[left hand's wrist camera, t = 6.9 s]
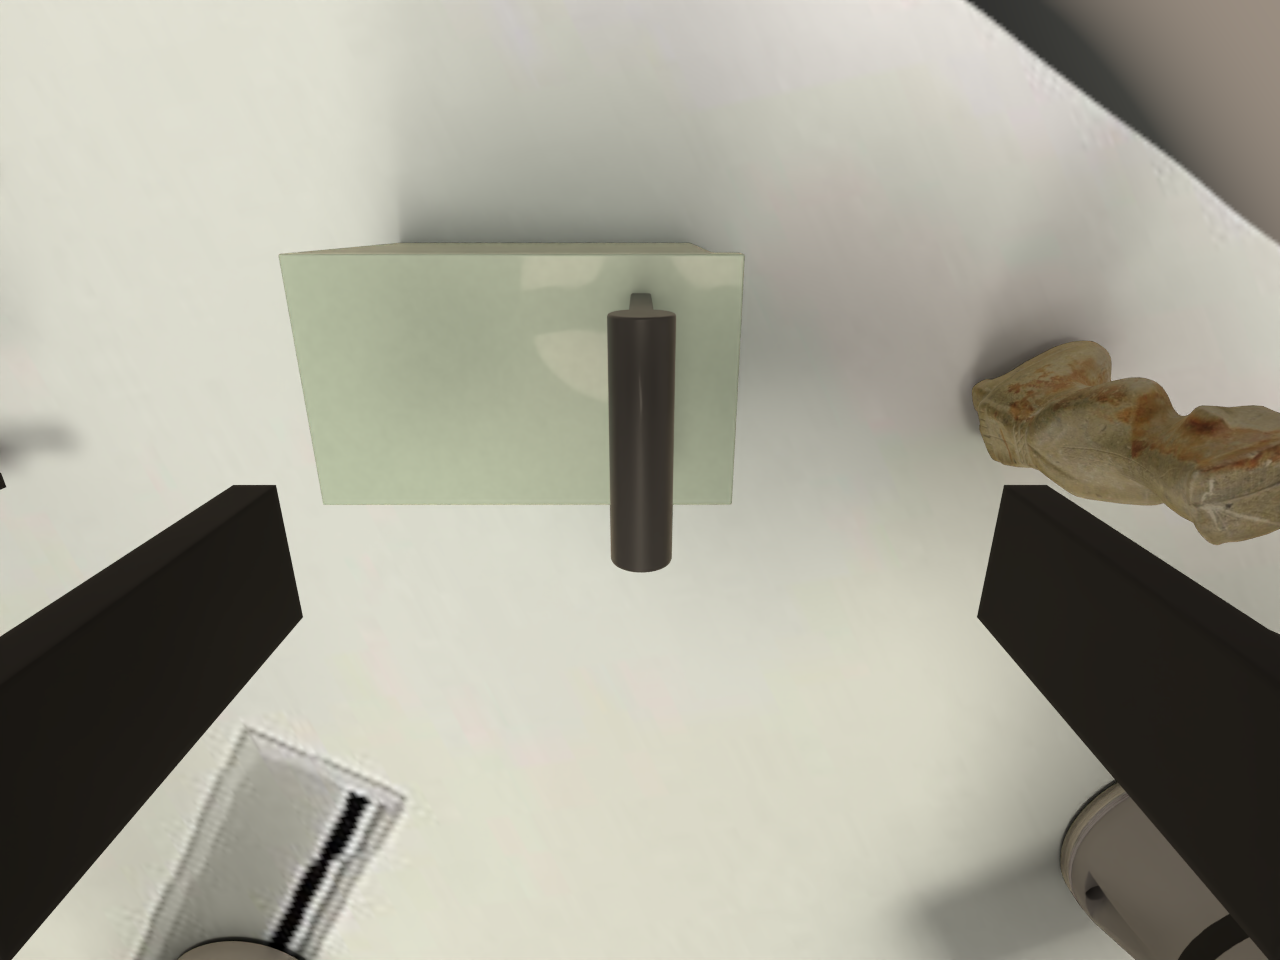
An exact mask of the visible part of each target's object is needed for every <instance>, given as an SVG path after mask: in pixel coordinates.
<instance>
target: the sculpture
mask: <svg viewBox="0 0 1280 960" xmlns="http://www.w3.org/2000/svg"><path fill="white" fill-rule="evenodd" d="M972 398H973V404H974V408H975V410H976V411H977V412H978V416H979V421H980V426H979V430H980V432H981V435H982V438H983V440H984V443H985V445H986V448H987V450H988V452H989V454H990V456H991V458H992V459H993V460H995V461H998V462H1001V463H1002V464H1004V465H1009V466H1015V467H1025V468H1034V469H1037V470H1039V471H1041V472H1042V473H1043V474H1044V475H1045V476H1047V477H1048V478H1050V479H1051V480H1052V481H1054V482H1055V483H1056V484H1058V485H1059V486H1061V487H1062V488H1063V489H1065V490H1066V491H1068V492H1069V493H1071V494H1073V495H1075V496H1078V497H1082V498H1086V499H1092V500H1099V501H1106V502H1114V503H1122V504H1133V505H1158V504H1162V503H1165V504H1166V505H1167V506H1168V507H1169V508H1170V509H1172V510H1173V511H1174V512H1176V513H1177V514H1178V515H1180V516H1182V517H1183V518H1185V519H1187V520H1189V521H1191V522H1193V523H1194V525H1195V527H1196V528H1197V530H1198V532H1199V533H1200V534H1201V535H1202V537H1203V538H1205V539H1206V540H1207V541H1208V542H1209V543H1211V544H1214V545H1219V544H1222V543H1227V542H1238V541H1244V540H1248V539H1252V538H1255V537H1259V536H1263V535H1266V534H1269V533H1271V532H1273V531H1276V530H1278V529H1280V413H1278V412H1275V411H1273V410H1271V409H1268V408H1266V407H1264V406H1255V405H1252V406H1238V407H1220V406H1198V407H1197V408H1195V409H1194V410H1193V411H1192V412H1191V414H1189V415H1187V416H1181V415H1178V413H1177V412H1176V411H1175V410H1174V408H1173V406H1172V404H1171V402H1170V400H1169V397H1168V395H1167V393H1166V392H1165V390H1164V389H1163V388H1162V387H1161V386H1160V385H1159V384H1158V383H1157V382H1154V381H1152V380H1149V379H1146V378H1140V377H1137V378H1125V379H1120V380H1115V381H1111V357H1110V355H1109V353H1108V352H1107V350H1106V349H1105V348H1103V347H1102V346H1100V345H1099V344H1097V343H1095V342H1092V341H1075V342H1069V343H1065V344H1062V345H1059V346H1056V347H1054V348H1052V349H1050V350H1048V351H1046V352H1044V353H1042V354H1040V355H1038V356H1036V357H1034V358H1032V359H1030V360H1028V361H1027V362H1025V363H1023V364H1022V365H1020V366H1018V367H1017V368H1015V369H1014V370H1012V371H1010V372H1009V373H1007V374H1005V375H1003V376H1000V377H998V378H995V379H992V380H990V379H986V380H983V381H981V382H979V383H977V384H976V385H975V386H974V387H973V389H972Z"/></svg>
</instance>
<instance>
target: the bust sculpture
mask: <svg viewBox="0 0 1280 960" xmlns="http://www.w3.org/2000/svg"><path fill="white" fill-rule="evenodd" d="M177 960H297V959H296V958H294V957H292V956H290V955H288V954H286V953H284V952H282V951H280V950H277V949H274V948H271V947H268V946H264V945H260V944H255V943H249V942H239V941H225V942H216V943H210V944H206V945H202V946H199V947H197V948H194V949H192V950H190V951H188V952H186V953H185V954H183V955H182V956H181V957H180V958H179V959H177Z"/></svg>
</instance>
